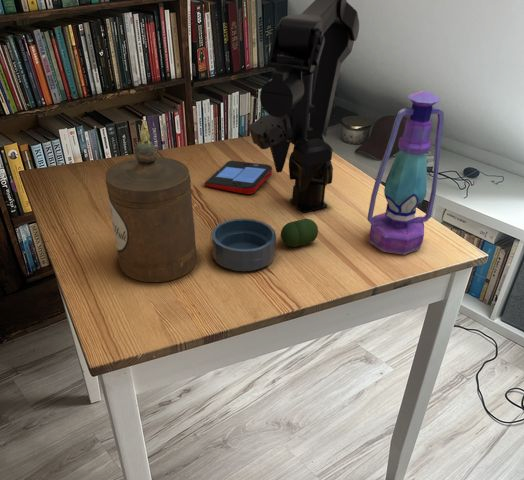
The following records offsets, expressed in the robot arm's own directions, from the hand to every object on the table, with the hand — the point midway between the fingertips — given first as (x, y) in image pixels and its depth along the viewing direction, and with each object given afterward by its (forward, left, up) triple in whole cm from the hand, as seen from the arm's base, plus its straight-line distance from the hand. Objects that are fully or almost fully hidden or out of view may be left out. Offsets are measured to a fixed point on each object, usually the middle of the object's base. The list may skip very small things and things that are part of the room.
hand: (290, 181), depth 111 cm
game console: (-2, -28, -12) cm, 30 cm away
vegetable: (+23, -20, -12) cm, 33 cm away
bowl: (+12, +4, -12) cm, 17 cm away
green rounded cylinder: (0, +4, -12) cm, 12 cm away
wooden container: (+28, -1, -12) cm, 31 cm away
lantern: (-19, +12, -12) cm, 25 cm away
